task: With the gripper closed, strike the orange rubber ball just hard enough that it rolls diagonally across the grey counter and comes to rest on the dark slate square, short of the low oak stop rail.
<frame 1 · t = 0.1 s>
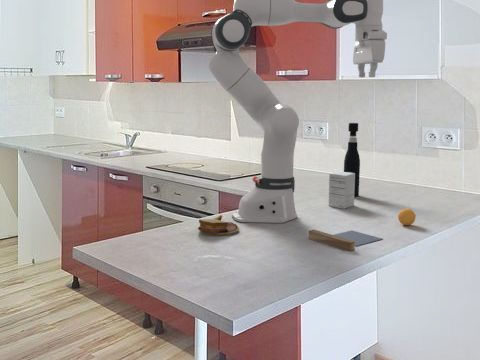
hand: (366, 77, 189), 48 cm above the worktop, tool pointing down, fingers open, 8 cm apart
slate square: (353, 238, 167), on the worktop
toy sandwich meal: (218, 233, 174), on the worktop
ball: (406, 217, 182), on the worktop
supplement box: (341, 206, 211), on the worktop
stop rail: (330, 244, 161), on the worktop
wine bottle: (350, 196, 230), on the worktop
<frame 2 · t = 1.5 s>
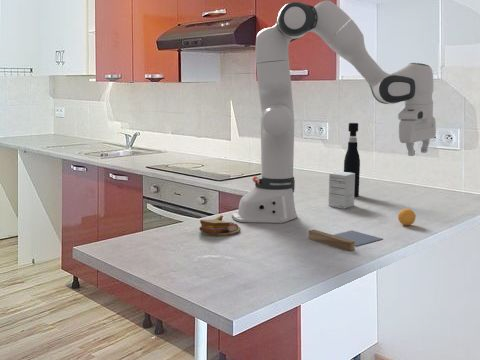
hand: (417, 154, 186), 23 cm above the worktop, tool pointing down, fingers open, 8 cm apart
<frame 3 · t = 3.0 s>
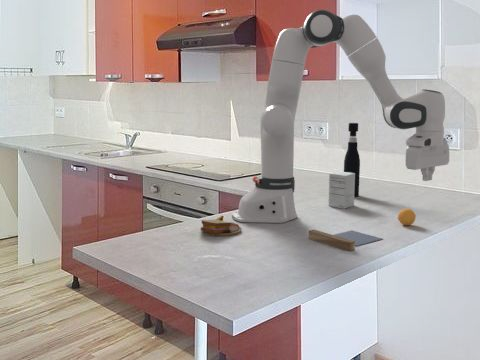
hand: (427, 180, 186), 14 cm above the worktop, tool pointing down, fingers closed
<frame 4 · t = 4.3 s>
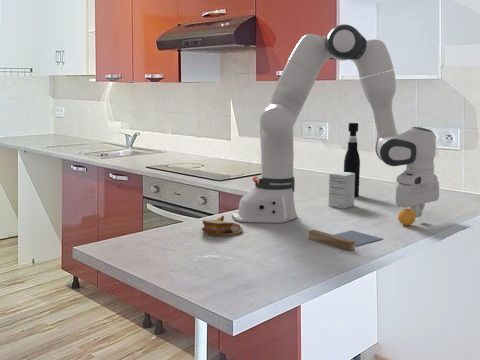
hand: (416, 216, 186), 2 cm above the worktop, tool pointing down, fingers closed
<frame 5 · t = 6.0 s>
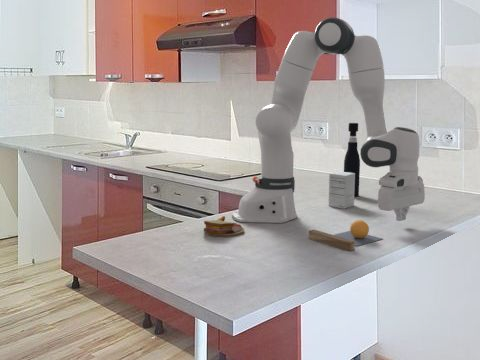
hand: (401, 220, 180), 2 cm above the worktop, tool pointing down, fingers closed
ball: (359, 229, 166), on the worktop
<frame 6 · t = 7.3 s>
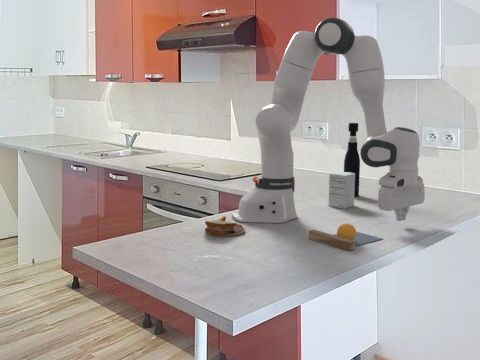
hand: (401, 220, 180), 2 cm above the worktop, tool pointing down, fingers closed
ball: (346, 232, 162), on the worktop
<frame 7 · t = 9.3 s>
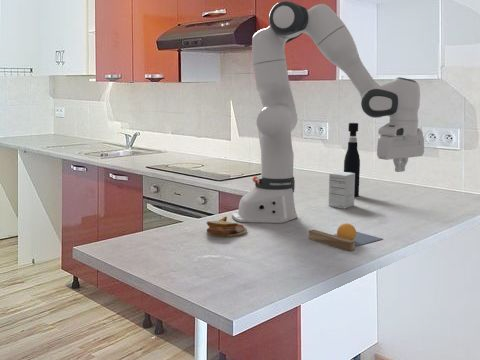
hand: (399, 171, 181), 18 cm above the worktop, tool pointing down, fingers closed
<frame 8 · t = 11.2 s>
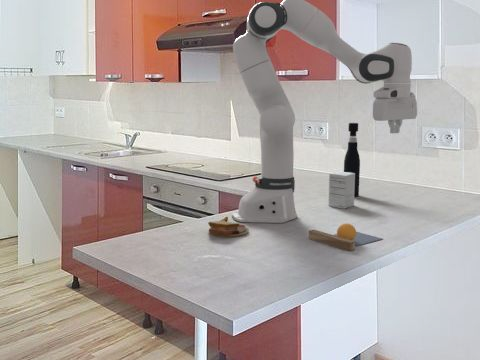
hand: (394, 133, 190), 29 cm above the worktop, tool pointing down, fingers closed
at the end: ball 4.8 cm from the slate square (horizontally); ball at rest at the end (0.0 cm/s); ball moved 30.7 cm from its start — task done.
